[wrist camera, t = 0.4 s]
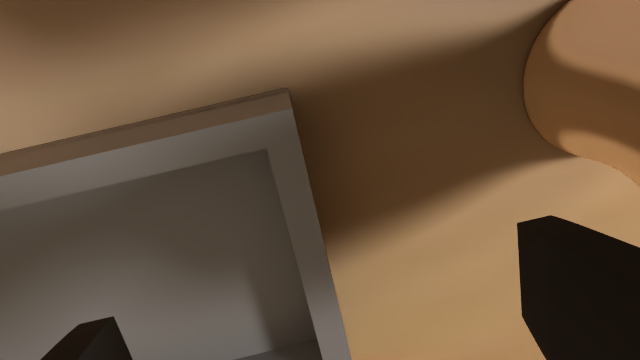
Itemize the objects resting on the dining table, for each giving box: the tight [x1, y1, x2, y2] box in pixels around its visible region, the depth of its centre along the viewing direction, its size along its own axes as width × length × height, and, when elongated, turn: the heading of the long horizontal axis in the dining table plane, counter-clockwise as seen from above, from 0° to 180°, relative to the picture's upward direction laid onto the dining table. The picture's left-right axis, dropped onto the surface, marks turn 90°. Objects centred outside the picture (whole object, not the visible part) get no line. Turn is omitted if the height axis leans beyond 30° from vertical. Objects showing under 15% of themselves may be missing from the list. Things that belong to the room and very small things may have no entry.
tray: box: [0, 88, 352, 360], centre depth 19 cm, size 11×16×3 cm
